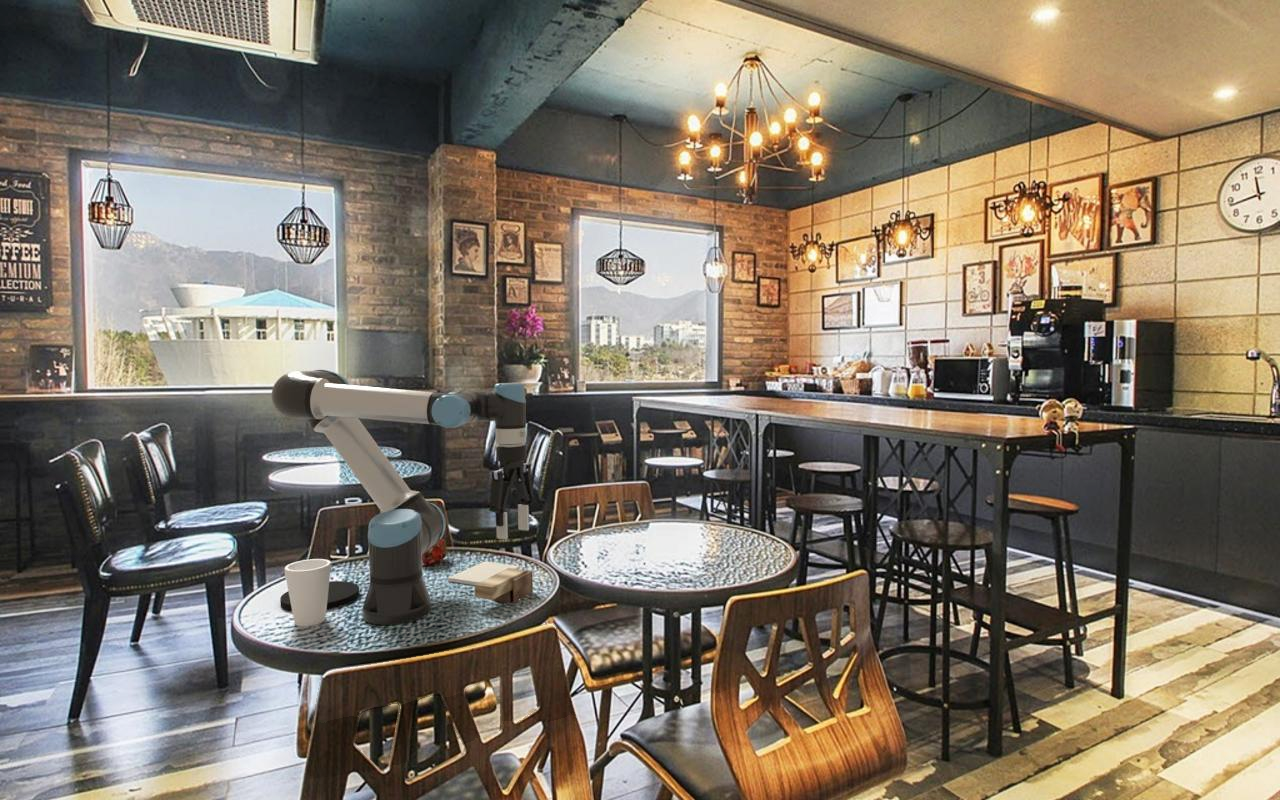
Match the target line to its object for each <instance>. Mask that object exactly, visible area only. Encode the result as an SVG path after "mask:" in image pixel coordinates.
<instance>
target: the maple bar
mask: <svg viewBox="0 0 1280 800" xmlns="http://www.w3.org/2000/svg"><path fill="white" fill-rule="evenodd" d="M526 571H527V570H525V569H520V570H519V569H512V568H509V569H506V570H504V571H502V572H500V573H498V574H496V575H494V576H492V577H490V578H488V579H486V580H484V581H482V582H479V583H477V584H475V585H474V598H477V599H478V598H479V599H485V600H491V601H494V600H493V599H495V598H497V597H499V596H501V595H503V594H505V593H506V592H508V591H510V592H511V590H512V589H513V580H514V579H516V578H518V577H520V576H522V575H524V574H526Z"/></svg>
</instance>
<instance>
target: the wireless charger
mask: <svg viewBox="0 0 1280 800" xmlns="http://www.w3.org/2000/svg"><path fill="white" fill-rule="evenodd" d="M359 596H360V586H359V585H358V584H356V583H355V582H351V581H344V580H343V581H342V580H341V581H339V580H333V581H332V580H331V581H330V580H329V590H328V599H327V609H326V611H327V610H328V611H329V610H332V609H336V608H340V607H343V606H346V605H348V604H350V603H353V602H354V601H356V600H357V599H358V598H359ZM279 599H280V608H281V609H282V610H284V611H287V612H291V613H292V607H291V602H290V597H289V592H288V591H286V592H284V593H283V594H282V595H281V596H280V598H279Z"/></svg>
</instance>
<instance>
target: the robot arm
mask: <svg viewBox="0 0 1280 800" xmlns="http://www.w3.org/2000/svg"><path fill="white" fill-rule="evenodd" d="M271 400H272V403H273V404H272V405H273V406H274V407H275V409H276V411H278V412H279V414H280V415H282V416H284V417H286V418H289V419H292V420H305V421H306V422H307V423H308V424H309V426H310V427H311V428H312V430H313V431H314V432H316V433H322V434H324V435H325V436H326V438H327V439H328V441H330V444H331V445H332V446H333V447H334V448H335V450H336V451H337V453H338V454H339V456H340V457H341V458H342V459H343V461H344V462H345V464H346V465H347V466H348V468H349V469H350V470H351V472H352V473H353V475H354V476H355V478H356V479H357V480H358V481H359V483H360V484H361V486H362V487H363V489H364V490H365V491H366V492H367V494H368V495H369V496H370V498H371V499H372V500H373V502H374V504H376V506H377V507H378V509H379V510H380V513H378V514H376V515H375V516H373V517H372V518H371V520H370V521H369V524H368V531H367V540H368V561H369V562H368V564H369V567H368V568H369V586H368V590H367V593H366V595H365V600H364V602H363V606H362V618H363V621H365V622H366V623H368V624H373V625H381V626H386V625H387V626H389V625H400V624H404V623H409V622H410V623H411V622H413V621H417V620H419V619H422V618H424V617H426V616H427V615H428V614H430V612H431V611H432V599H431V596H430V594H429V591H428V588H427V586H426V583H425V580H424V575H423V561H422V555H423V554H424V553H425V552H427V551H428V550H430V549H431V548H432V547H434V546H435V545H436V544H437V543H438V542H439V540H440V539H441V538H442V539H443V536H444V534H445V531H446V523H447V522H446V517H445V515H444V513H443V510H441V508H440V507H439V506H438V505H436V504H435V503H432V502H429V501H427V500H426V498H425V497H424V496H423V494H422V493H421V492H420V491H418V490H417V491H416V490H412V489H411V488H410V487H409V486H408V484H407V483H406V482H405V481H404V479H403V477H402V476H401V475H400V474H399V472H398V471H397V469H396V468H395V467H394V465H393V464H392V463H391V461H390V460H389V459H388V457H387V456H386V455H385V453H384V452H383V451H382V449H381V448H380V447H379V445H378V444H377V442H376V441H375V439H374V438H373V436H372V435H371V434H370V432H369V431H368V429H366V427H365V426H364V424H363V423H362V422H361V420H363V419H364V420H374V421H375V420H376V421H389V422H398V423H399V422H400V423H414V424H426V425H435V426H440V427H442V428H447V429H455V428H459V427H461V426H464V425H466V424H469V423H474V422H476V423H477V422H494V423H495V425H494V426H495V444H496V445H497V446H496V447H495V459H496V461H498V462H499V467H498V470H491V473H490V474H491V488H490V489H491V490H490V498H489V499H490V500H489V507H488V508H489V509H488V510H489V512H491V513H494V514H495V526H496V539H500V540H508V539H509V536H508V533H509V532H508V512H505V511H506V507H507V503H508V499H509V495H510V491H511V488H512V487H513V486H514V488H515V490H516V495H517V498H518V500H519V503H520V504H517V517H518V518H517V519H518V520H517V523H518V524H517V525H518V526H517V527H518V530H519V531H529V530H530V522H529V521H530V520H529V519H530V518H529V515H530V506H529V505H533V503H534V500H535V495H534V488H533V481H532V474H531V470H532V469H531V468H532V465H531V464H530V463H524V461H525V460H527V457H528V456H527V454H528V453H527V446H526V445H525V444H526V443H527V428H526V427H527V425H526V423H527V418H526V415H527V414H526V410H527V409H526V407H527V406H526V405H527V400H526V391H525V386H524V385H523V383H519V382H508V383H505V382H501V383H496V384H495V385H494V389H493V390H491V391H463V390H459V391H452V392H451V391H450V392H449V393H446V392H433V391H425V390H424V391H421V390H411V389H401V388H399V389H398V388H388V387H387V388H386V387H378V386H377V387H375V386H367V385H366V386H365V385H364V386H363V385H362V386H361V385H352V384H350V383H349V382H348V381H347V379H346V378H345V377H344V376H343V375H341V374H339V373H337V372H334V371H330V370H326V369H316V370H315V369H314V370H296V371H295V370H294V371H289V372H287V373H285V374H283V375H282V376H281V377H279V378H278V379H277V380H276V381H275V383H274V385H273V387H272V390H271ZM360 419H361V420H360Z"/></svg>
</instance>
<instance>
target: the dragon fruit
mask: <svg viewBox="0 0 1280 800" xmlns="http://www.w3.org/2000/svg"><path fill="white" fill-rule="evenodd" d="M448 553H449V550H448V549H447V540H446V539H445V538H443V537H442V538H441V539H440V540H439V542H438V543H437V544H436V545H435V546H434V547H432V548H431V549H430V550H428V551H427V552H425V553H424V554H423V555H422V564H423V565H424V566H426V567H428V566H430V565H432V564H435V563H438V564H439V563H441V562H442V561H443V560H444V559H445V558H446V557H447V555H448Z"/></svg>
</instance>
